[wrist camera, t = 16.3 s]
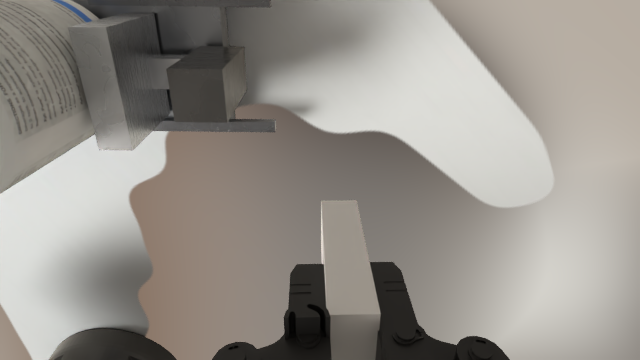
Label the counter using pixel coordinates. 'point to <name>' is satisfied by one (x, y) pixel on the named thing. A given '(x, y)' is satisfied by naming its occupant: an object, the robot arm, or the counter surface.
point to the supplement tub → (39, 86)
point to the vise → (186, 43)
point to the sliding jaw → (151, 79)
